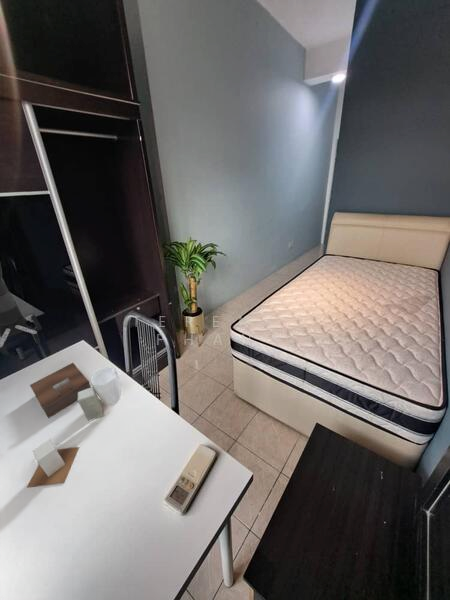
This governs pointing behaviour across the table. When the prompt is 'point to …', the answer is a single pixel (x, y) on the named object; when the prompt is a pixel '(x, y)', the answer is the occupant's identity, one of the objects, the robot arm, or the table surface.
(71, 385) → the lid
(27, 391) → the table surface
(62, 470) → the pad
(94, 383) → the cup
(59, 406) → the chest
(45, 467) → the light grey block
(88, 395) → the box
